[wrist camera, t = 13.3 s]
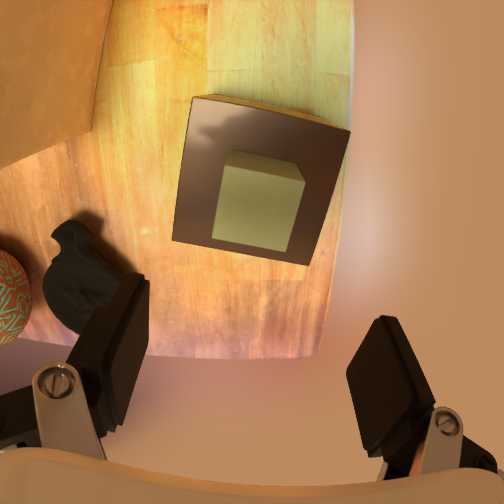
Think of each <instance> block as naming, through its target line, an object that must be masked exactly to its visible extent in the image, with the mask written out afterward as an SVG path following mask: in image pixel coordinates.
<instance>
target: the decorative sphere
mask: <svg viewBox="0 0 504 504" xmlns="http://www.w3.org/2000/svg"><path fill="white" fill-rule="evenodd" d="M31 309H32V290H31V285H30V282H29V279H28V276H27V274H26V272H25V270H24V269H23V267H22V266H21V264H20V263H19V262H18V261H17V260H16V259H15V258H14V257H13V256H11V255H10V254H9V253H7V252H5V251H3V250H0V345H1V344H4V343H8V342H10V341H11V340H13V339H15V338H16V337H17V336H18V335H19V334H20V333H21V332H22V330H23V329H24V327H25V326H26V324H27V322H28V320H29V317H30V313H31Z"/></svg>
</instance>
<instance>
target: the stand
mask: <svg viewBox="0 0 504 504" xmlns="http://www.w3.org/2000/svg"><path fill="white" fill-rule="evenodd" d="M350 134H351V132H350V131H348V130H346V129H344V128H342V127H340V126H338V125H336V124H334V123H332V122H330V121H328V120H326V119H324V118H321V117H319V116H315V115H311V114H308V113H304V112H300V111H296V110H292V109H288V108H283V107H279V106H275V105H270V104H266V103H261V102H256V101H251V100H246V99H241V98H235V97H230V96H224V95H218V94H208V95H201V96H194V97H193V98H192V103H191V108H190V113H189V119H188V125H187V131H186V137H185V143H184V149H183V156H182V162H181V169H180V176H179V183H178V191H177V199H176V207H175V215H174V224H173V233H172V241H177V242H182V243H188V244H193V245H198V246H204V247H209V248H214V249H219V250H225V251H230V252H236V253H241V254H246V255H252V256H257V257H262V258H268V259H273V260H278V261H284V262H289V263H295V264H300V265H305V266H309V265H310V262H311V259H312V256H313V253H314V250H315V247H316V244H317V241H318V238H319V235H320V232H321V229H322V226H323V223H324V220H325V217H326V214H327V210H328V207H329V204H330V201H331V198H332V195H333V191H334V188H335V185H336V182H337V178H338V175H339V172H340V168H341V165H342V161H343V158H344V155H345V151H346V148H347V144H348V141H349V137H350ZM230 150H235V151H240V152H245V153H250V154H255V155H260V156H265V157H269V158H274V159H278V160H283V161H287V162H292V163H295V164H296V165H297V167H298V169H299V171H300V173H301V175H302V177H303V179H304V180H305V186H304V190H303V194H302V197H301V201H300V204H299V208H298V211H297V215H296V218H295V222H294V225H293V228H292V232H291V235H290V239H289V242H288V246H287V249H286V252H282V251H277V250H272V249H266V248H261V247H256V246H251V245H245V244H240V243H235V242H229V241H224V240H219V239H213V238H212V232H213V226H214V220H215V215H216V209H217V204H218V198H219V193H220V187H221V182H222V177H223V172H224V166H225V163H226V161H227V158H228V155H229V152H230Z"/></svg>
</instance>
